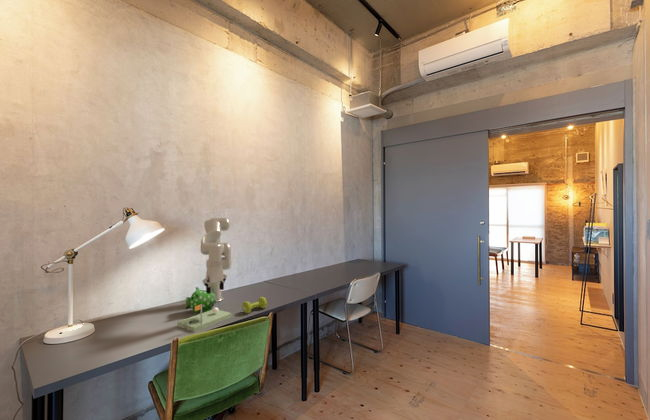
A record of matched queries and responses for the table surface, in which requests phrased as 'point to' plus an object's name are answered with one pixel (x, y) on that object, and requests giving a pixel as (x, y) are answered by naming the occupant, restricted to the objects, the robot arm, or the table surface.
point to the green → (203, 319)
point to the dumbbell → (254, 305)
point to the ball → (215, 310)
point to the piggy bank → (201, 300)
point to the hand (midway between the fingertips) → (215, 291)
